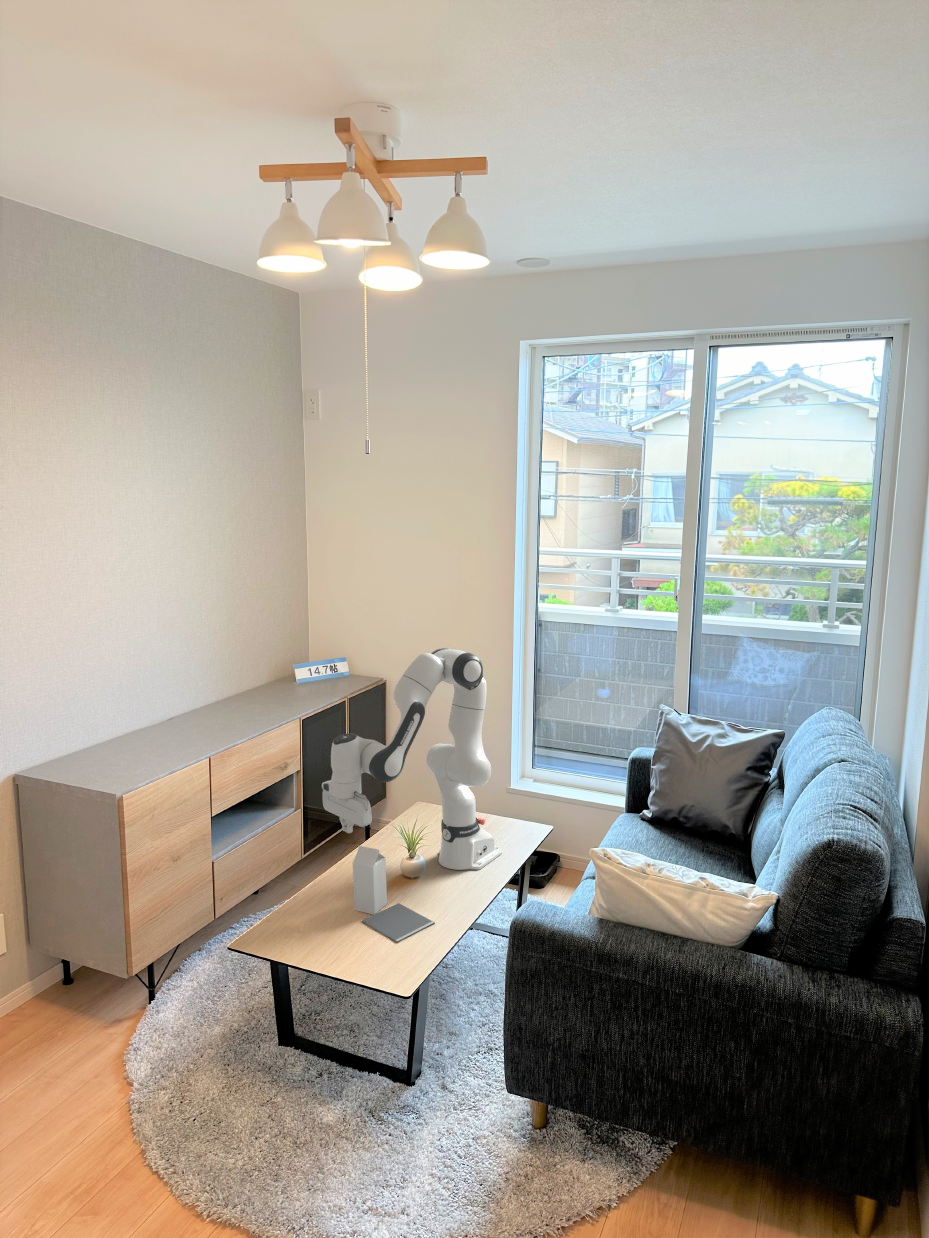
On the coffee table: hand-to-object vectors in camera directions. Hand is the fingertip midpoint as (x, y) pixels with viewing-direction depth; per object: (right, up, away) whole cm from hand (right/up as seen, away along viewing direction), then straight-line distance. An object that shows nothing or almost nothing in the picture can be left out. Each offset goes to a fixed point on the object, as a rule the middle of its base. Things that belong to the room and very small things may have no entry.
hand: (347, 831), depth 251 cm
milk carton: (+7, -22, -3) cm, 23 cm away
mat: (+16, -23, -12) cm, 31 cm away
